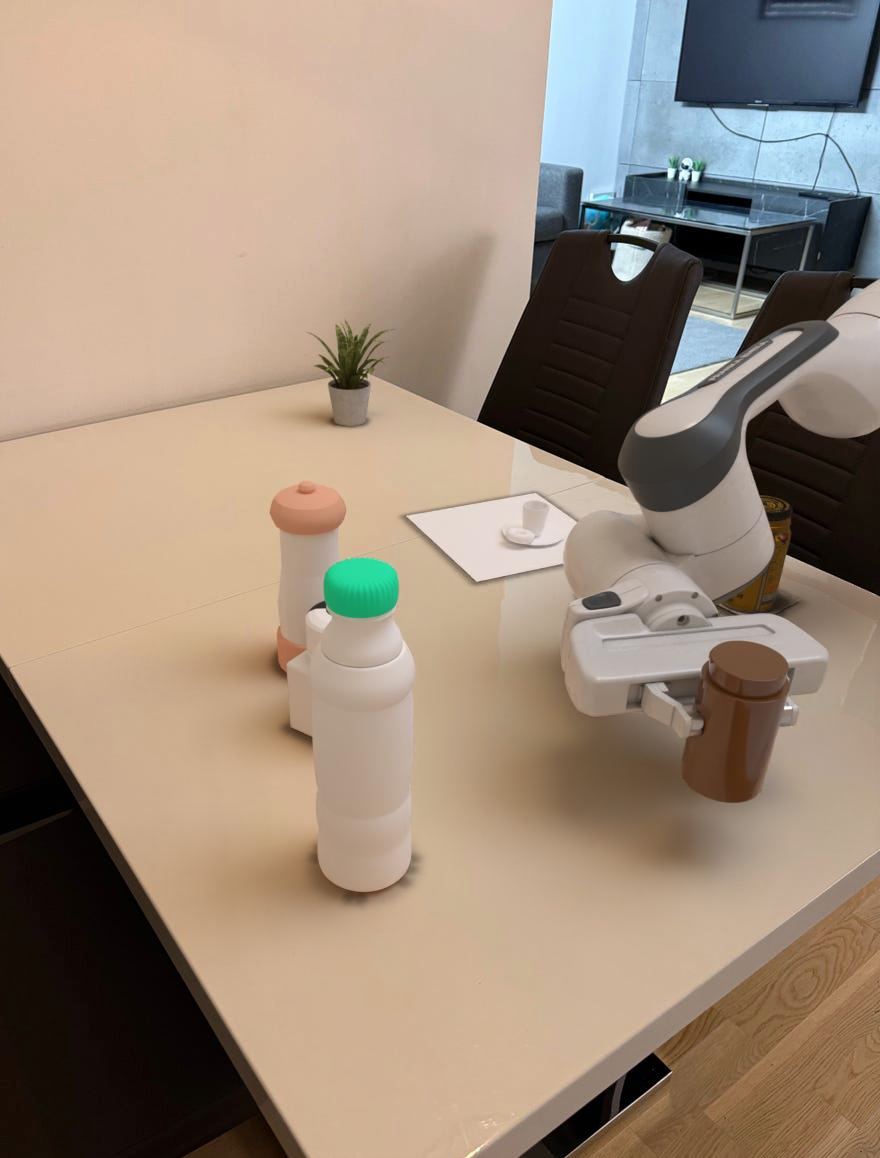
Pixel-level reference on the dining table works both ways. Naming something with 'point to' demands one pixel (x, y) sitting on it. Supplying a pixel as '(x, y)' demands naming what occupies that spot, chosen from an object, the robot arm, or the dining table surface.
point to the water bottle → (362, 729)
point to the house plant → (350, 376)
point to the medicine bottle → (305, 671)
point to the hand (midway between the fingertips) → (740, 725)
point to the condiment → (765, 588)
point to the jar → (736, 721)
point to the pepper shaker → (304, 557)
